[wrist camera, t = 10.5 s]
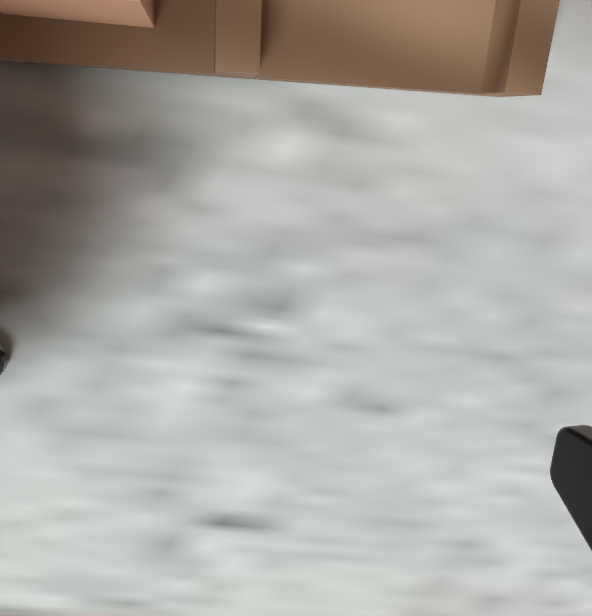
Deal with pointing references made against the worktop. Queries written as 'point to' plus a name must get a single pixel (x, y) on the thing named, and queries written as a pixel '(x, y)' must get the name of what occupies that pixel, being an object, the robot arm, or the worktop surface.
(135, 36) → the brown ridged slab
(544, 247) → the worktop surface
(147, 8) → the peach long block
